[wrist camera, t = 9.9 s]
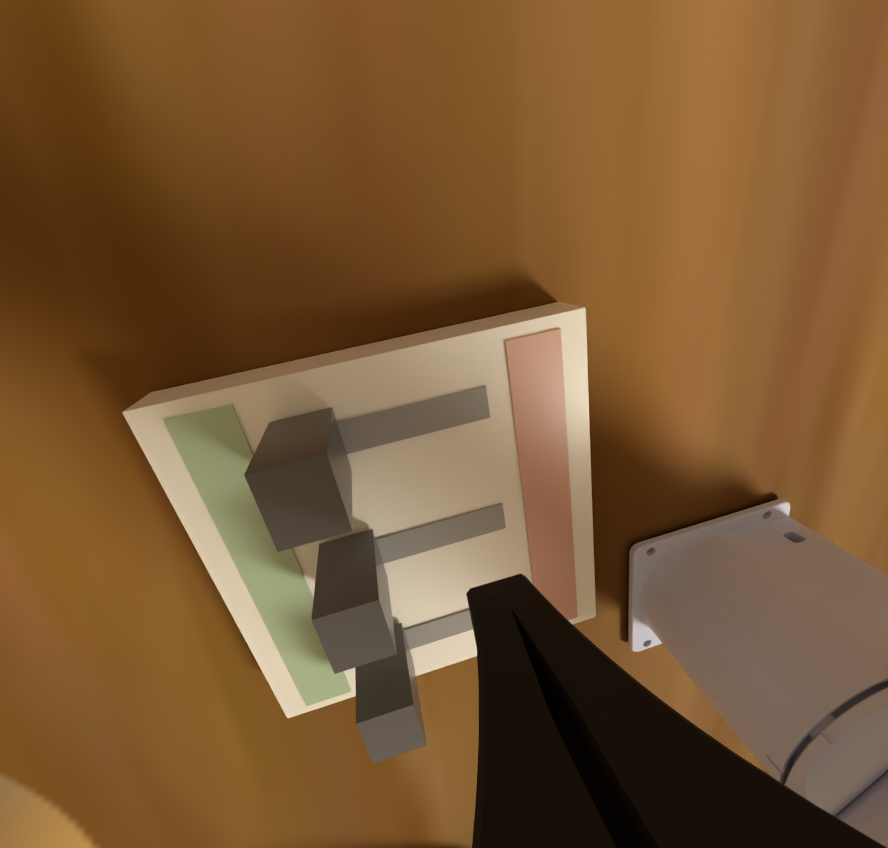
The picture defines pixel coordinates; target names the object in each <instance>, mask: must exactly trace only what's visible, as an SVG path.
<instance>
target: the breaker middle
mask: <svg viewBox="0 0 888 848" xmlns="http://www.w3.org/2000/svg"><path fill="white" fill-rule="evenodd" d="M311 621H312V623H313V625H314V627H315V630H316V632H317V634H318V637H319V639H320V641H321V644H322V646H323V648H324V651H325V653H326V655H327V658H328V660H329V662H330V664H331V667H332V669H333V671H334V674H336V673H340V672H343V671H346V670H349V669H352V668H355V667H358V666H361V665H364V664H368V663H371V662H374V661H377V660H380V659H383V658H386V657H389V656H393V655H396V654H397V651H396V643H395V634H394V626H393V618H392V610H391V602H390V594H389V586H388V577H387V574H386V571H385V567H384V564H383V561H382V558H381V554H380V551H379V548H378V545H377V541H376V538H375V535H374V532H373V529H371V530H367V531H364V532H360V533H356V534H353V535H349V536H346V537H342V538H338V539H335V540H331V541H328V542H324V543H321V544H319V550H318V560H317V570H316V579H315V589H314V599H313V609H312V619H311Z"/></svg>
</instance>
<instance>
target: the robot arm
mask: <svg viewBox="0 0 888 848" xmlns="http://www.w3.org/2000/svg"><path fill="white" fill-rule="evenodd" d="M789 511H790V504H789V502H787V501H785V500H783V499H777V500H774V501H771V502H768V503H764V504H761V505H758V506H755V507H751V508H748V509H745V510H742V511H739V512H735V513H732V514H729V515H726V516H722V517H719V518H716V519H713V520H709V521H706V522H703V523H700V524H697V525H693V526H690V527H687V528H684V529H680V530H677V531H674V532H671V533H667V534H664V535H661V536H658V537H654V538H651V539H648V540H645V541H642V542H638V543H636V544H634V545H633V546H632V547H631V549H630V552H629V627H628V644H629V647H630V648H631V649H632V650H633V651H635V652H638V651H642V650H644V649H647V648H650V647H653V646H656V645H659V644H662V643H663V645H664V646H665V647H666V648H667V650H668V651H669V652H670V653H671V654H672V656H673V657H674V658H675V659H676V661H677V662H678V663H679V664H680V665H681V667H682V668H683V669H684V670H685V672H686V673H687V674H688V675H689V677H690V678H691V679H692V680H693V681H694V683H695V684H696V685H697V686H698V688H699V689H700V690H701V691H702V693H703V694H704V695H705V696H706V697H707V699H708V700H709V701H710V702H711V704H712V705H713V706H714V707H715V708H716V710H717V711H718V712H719V713H720V715H721V716H722V717H723V718H724V720H725V721H726V722H727V723H728V724H729V726H730V727H731V728H732V729H733V731H734V732H735V733H736V734H737V736H738V737H739V738H740V739H741V740H742V742H743V743H744V744H745V745H746V747H747V748H748V749H749V750H750V752H751V753H752V754H753V755H754V756H755V758H756V759H757V760H758V761H759V763H760V764H761V765H762V766H763V767H764V769H765V770H766V771H767V772H768V774H769V775H768V774H767V773H765V772H763V771H762V770H760V769H759V768H757V767H756V766H754V765H753V764H751V763H749V762H748V761H746V760H745V759H743V758H742V757H740V756H739V755H737V754H736V753H734V752H733V751H731V750H730V749H728V748H727V747H725V746H724V745H723V744H721V743H720V742H718V741H717V740H715V739H714V738H713V737H711V736H710V735H708V734H707V733H705V732H704V731H702V730H701V729H700V728H698V727H697V726H695V725H694V724H693V723H691V722H690V721H689V720H687V719H686V718H685V717H683V716H682V715H680V714H679V713H678V712H676V711H675V710H674V709H672V708H671V707H670V706H668V705H667V704H666V703H664V702H663V701H662V700H660V699H659V698H658V697H657V696H655V695H654V694H653V693H651V692H650V691H649V690H648V689H646V688H645V687H644V686H643V685H641V684H640V683H639V682H638V681H636V680H635V679H634V678H633V677H632V676H630V675H629V674H628V673H627V672H626V671H624V670H623V669H622V668H621V667H619V666H618V665H617V664H616V663H615V662H614V661H612V660H611V659H610V658H609V657H608V656H607V655H605V654H604V653H603V652H602V651H601V650H600V649H599V648H598V647H596V646H595V645H594V644H593V643H592V642H591V641H590V640H589V639H588V638H587V637H585V636H584V635H583V634H582V633H581V632H580V631H579V630H578V629H577V628H576V627H575V626H573V625H572V624H571V623H570V622H569V621H568V620H567V619H566V618H565V617H564V616H563V615H562V614H561V613H560V612H559V611H558V610H557V609H556V608H555V607H554V606H553V605H552V604H551V603H550V602H549V601H548V600H547V599H546V598H545V597H544V596H543V595H542V594H541V593H540V592H539V591H538V589H537V588H536V587H535V586H534V585H533V584H532V583H531V582H530V581H529V579H528V578H527V577H526V576H524V575H523V574H517V575H514V576H511V577H507V578H504V579H500V580H497V581H494V582H490V583H487V584H484V585H480V586H477V587H473V588H470V589H469V591H468V592H467V593H466V595H467V600H468V606H469V611H470V616H471V621H472V626H473V631H474V636H475V642H476V647H477V660H478V678H479V748H478V773H477V791H476V807H475V819H474V831H473V844H472V848H888V575H887V574H885V573H884V572H882V571H880V570H878V569H877V568H875V567H873V566H872V565H870V564H868V563H867V562H865V561H863V560H861V559H860V558H858V557H856V556H855V555H853V554H851V553H850V552H848V551H846V550H845V549H843V548H841V547H839V546H838V545H836V544H834V543H833V542H831V541H829V540H828V539H826V538H824V537H822V536H821V535H819V534H817V533H816V532H814V531H812V530H811V529H809V528H807V527H805V526H804V525H802V524H800V523H799V522H797V521H795V520H794V519H792V518H790V517H788V516H789Z"/></svg>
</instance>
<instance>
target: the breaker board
mask: <svg viewBox="0 0 888 848" xmlns="http://www.w3.org/2000/svg"><path fill="white" fill-rule="evenodd" d="M330 407H332V409H333V412H334V415H335V418H336V421H337V425H338V428H339V431H340V434H341V437H342V441H343V444H344V447H345V450H346V454H347V457H348V460H349V463H350V466H351V470H352V519H353V531H351V532H348V533H344V534H341V535H337V536H334V537H330V538H326V539H323V540H319V541H316V542H312V543H308V544H305V545H301V546H298V547H294V548H290V549H287V550H283V551H280V552H277V549H276V547H275V545H274V542H273V540H272V538H271V536H270V533H269V531H268V529H267V526H266V524H265V522H264V520H263V517H262V515H261V513H260V510H259V508H258V506H257V504H256V501H255V499H254V497H253V494H252V492H251V490H250V488H249V485H248V483H247V481H246V478H245V476H244V474H245V472H246V470H247V468H248V466H249V464H250V461H251V459H252V457H253V455H254V453H255V451H256V449H257V447H258V445H259V443H260V441H261V438H262V436H263V434H264V432H265V430H266V428H267V426H268V424H269V422H272V421H276V420H280V419H284V418H289V417H293V416H297V415H301V414H305V413H310V412H314V411H318V410H322V409H326V408H330ZM122 413H123V415H124V417H125V419H126V420H127V422H128V424H129V426H130V428H131V430H132V432H133V433H134V435H135V437H136V439H137V441H138V443H139V445H140V446H141V448H142V450H143V452H144V454H145V456H146V457H147V459H148V461H149V463H150V465H151V467H152V469H153V470H154V472H155V474H156V476H157V478H158V480H159V482H160V483H161V485H162V487H163V489H164V491H165V493H166V494H167V496H168V498H169V500H170V502H171V504H172V506H173V507H174V509H175V511H176V513H177V515H178V517H179V519H180V520H181V522H182V524H183V526H184V528H185V530H186V531H187V533H188V535H189V537H190V539H191V541H192V543H193V544H194V546H195V548H196V550H197V552H198V554H199V555H200V557H201V559H202V561H203V563H204V565H205V567H206V568H207V570H208V572H209V574H210V576H211V578H212V580H213V581H214V583H215V585H216V587H217V589H218V591H219V592H220V594H221V596H222V598H223V600H224V602H225V604H226V605H227V607H228V609H229V611H230V613H231V615H232V617H233V618H234V620H235V622H236V624H237V626H238V628H239V629H240V631H241V633H242V635H243V637H244V639H245V641H246V642H247V644H248V646H249V648H250V650H251V652H252V654H253V655H254V657H255V659H256V661H257V663H258V665H259V666H260V668H261V670H262V672H263V674H264V676H265V678H266V679H267V681H268V683H269V685H270V687H271V689H272V690H273V692H274V694H275V696H276V698H277V700H278V702H279V703H280V705H281V707H282V709H283V711H284V713H285V715H286V716H287V718H290V717H293V716H296V715H299V714H303V713H306V712H309V711H312V710H315V709H318V708H321V707H324V706H327V705H330V704H333V703H336V702H339V701H342V700H345V699H348V698H351V697H354V696H356V680H355V668H352V669H349V670H346V671H343V672H340V673H336V674H334V671H333V669H332V667H331V664H330V662H329V660H328V658H327V655H326V653H325V651H324V648H323V646H322V644H321V641H320V639H319V637H318V634H317V632H316V630H315V627H314V625H313V623H312V621H311V619H312V609H313V599H314V589H315V579H316V570H317V560H318V550H319V544H321V543H324V542H328V541H331V540H335V539H338V538H342V537H346V536H349V535H353V534H356V533H360V532H364V531H367V530H371V529H373V532H374V535H375V538H376V541H377V545H378V548H379V551H380V554H381V558H382V561H383V564H384V567H385V571H386V574H387V577H388V586H389V594H390V602H391V610H392V618H393V625H396V624H399V623H402V626H403V629H404V632H405V636H406V639H407V642H408V645H409V649H410V652H411V655H412V658H413V663H414V669H415V675H416V676H418V675H421V674H424V673H427V672H430V671H433V670H436V669H439V668H442V667H445V666H448V665H451V664H454V663H457V662H460V661H463V660H466V659H469V658H472V657H475V656H477V647H476V642H475V636H474V631H473V626H472V621H471V616H470V611H469V606H468V600H467V595H466V593H467V592H468V591H469V589H470V588H473V587H477V586H480V585H484V584H487V583H490V582H494V581H497V580H500V579H504V578H507V577H511V576H514V575H517V574H523V575H524V576H526V577H527V578H528V579H529V581H530V582H531V583H532V584H533V585H534V586H535V587H536V588H537V589H538V591H539V592H540V593H541V594H542V595H543V596H544V597H545V598H546V599H547V600H548V601H549V602H550V603H551V604H552V605H553V606H554V607H555V608H556V609H557V610H558V611H559V612H560V613H561V614H562V615H563V616H564V617H565V618H566V619H567V620H568V621H569V622H570V623H571V624H575V623H578V622H581V621H584V620H587V619H590V618H594V617H596V604H595V574H594V545H593V515H592V485H591V455H590V425H589V396H588V366H587V336H586V308H585V307H581V306H576V305H571V304H567V303H562V302H555V303H551V304H546V305H542V306H537V307H533V308H528V309H524V310H519V311H515V312H510V313H506V314H501V315H497V316H492V317H488V318H483V319H479V320H474V321H470V322H465V323H461V324H456V325H452V326H447V327H443V328H438V329H434V330H429V331H425V332H420V333H416V334H411V335H407V336H402V337H398V338H393V339H388V340H384V341H379V342H375V343H370V344H366V345H361V346H357V347H352V348H348V349H343V350H339V351H334V352H330V353H325V354H321V355H316V356H312V357H307V358H303V359H298V360H294V361H289V362H285V363H280V364H276V365H271V366H267V367H262V368H258V369H253V370H249V371H244V372H240V373H235V374H231V375H226V376H222V377H217V378H213V379H208V380H204V381H199V382H195V383H190V384H186V385H181V386H177V387H172V388H168V389H163V390H159V391H154V392H151V393H149V394H148V395H146V396H145V397H143V398H142V399H140V400H139V401H138V402H136V403H135V404H133V405H132V406H130V407H129V408H127V409H126V410H124V411H123V412H122Z"/></svg>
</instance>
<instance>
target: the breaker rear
mask: <svg viewBox="0 0 888 848" xmlns="http://www.w3.org/2000/svg"><path fill="white" fill-rule="evenodd" d="M393 626H394V634H395V643H396V651H397V654H396V655H393V656H389V657H386V658H383V659H380V660H377V661H374V662H371V663H368V664H364V665H361V666H358V667H355V680H356V724H357V727H358V729H359V731H360V734H361V736H362V738H363V741H364V743H365V745H366V748H367V750H368V752H369V755H370V757H371V759H372V761H373V764H374V763H377V762H380V761H382V760H385V759H388V758H391V757H394V756H397V755H399V754H402V753H405V752H408V751H411V750H414V749H416V748H419V747H422V746H425V745H427V743H426V737H425V731H424V725H423V719H422V712H421V706H420V700H419V694H418V688H417V681H416V675H415V669H414V663H413V658H412V655H411V652H410V649H409V645H408V642H407V639H406V636H405V632H404V629H403V626H402V623H399V624H396V625H393Z"/></svg>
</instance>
